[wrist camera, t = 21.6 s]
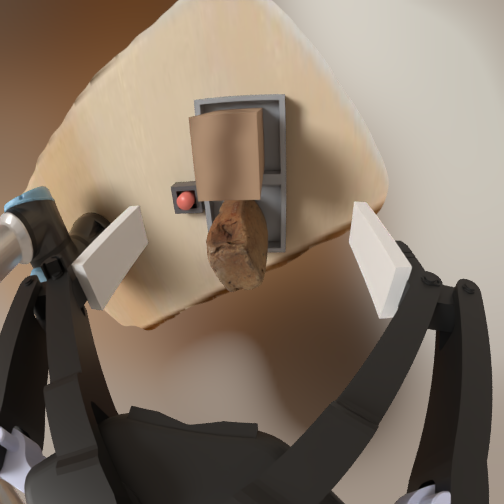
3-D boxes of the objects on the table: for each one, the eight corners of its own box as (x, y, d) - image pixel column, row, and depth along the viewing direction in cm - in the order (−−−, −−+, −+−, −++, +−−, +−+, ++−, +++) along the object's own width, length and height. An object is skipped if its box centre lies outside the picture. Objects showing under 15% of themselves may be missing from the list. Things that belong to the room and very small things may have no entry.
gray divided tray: (214, 243, 62) (211, 252, 59) (199, 99, 45) (193, 100, 42) (284, 242, 61) (285, 252, 58) (283, 94, 44) (284, 94, 41)
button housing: (179, 208, 58) (175, 213, 56) (175, 182, 55) (170, 187, 52) (205, 207, 58) (202, 212, 55) (202, 180, 54) (198, 185, 52)
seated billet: (223, 164, 51) (198, 201, 34) (219, 110, 45) (188, 117, 29) (264, 162, 51) (260, 199, 34) (262, 107, 45) (256, 112, 28)
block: (271, 229, 58) (269, 289, 41) (239, 239, 60) (225, 301, 43) (251, 184, 53) (240, 230, 36) (218, 197, 55) (192, 247, 38)
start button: (183, 203, 57) (178, 210, 54) (180, 189, 55) (175, 195, 52) (198, 203, 56) (193, 209, 53) (196, 188, 54) (191, 194, 52)
